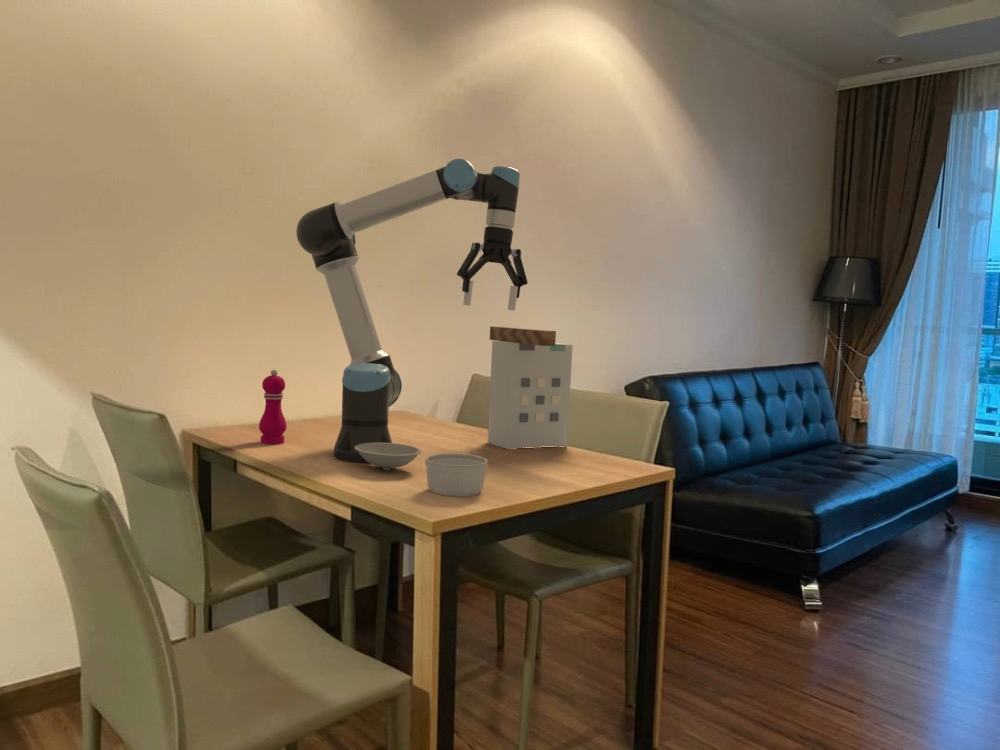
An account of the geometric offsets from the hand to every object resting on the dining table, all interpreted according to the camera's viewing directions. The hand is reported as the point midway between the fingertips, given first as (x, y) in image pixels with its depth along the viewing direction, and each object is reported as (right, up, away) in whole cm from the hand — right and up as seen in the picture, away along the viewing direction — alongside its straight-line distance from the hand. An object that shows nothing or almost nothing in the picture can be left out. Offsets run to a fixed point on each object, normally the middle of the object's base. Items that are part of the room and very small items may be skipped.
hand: (489, 307), depth 207 cm
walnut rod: (+9, -9, +14) cm, 19 cm away
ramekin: (-7, -43, -42) cm, 60 cm away
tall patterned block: (+11, -38, +21) cm, 45 cm away
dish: (-24, -41, -23) cm, 53 cm away
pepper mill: (-59, -37, +5) cm, 70 cm away
